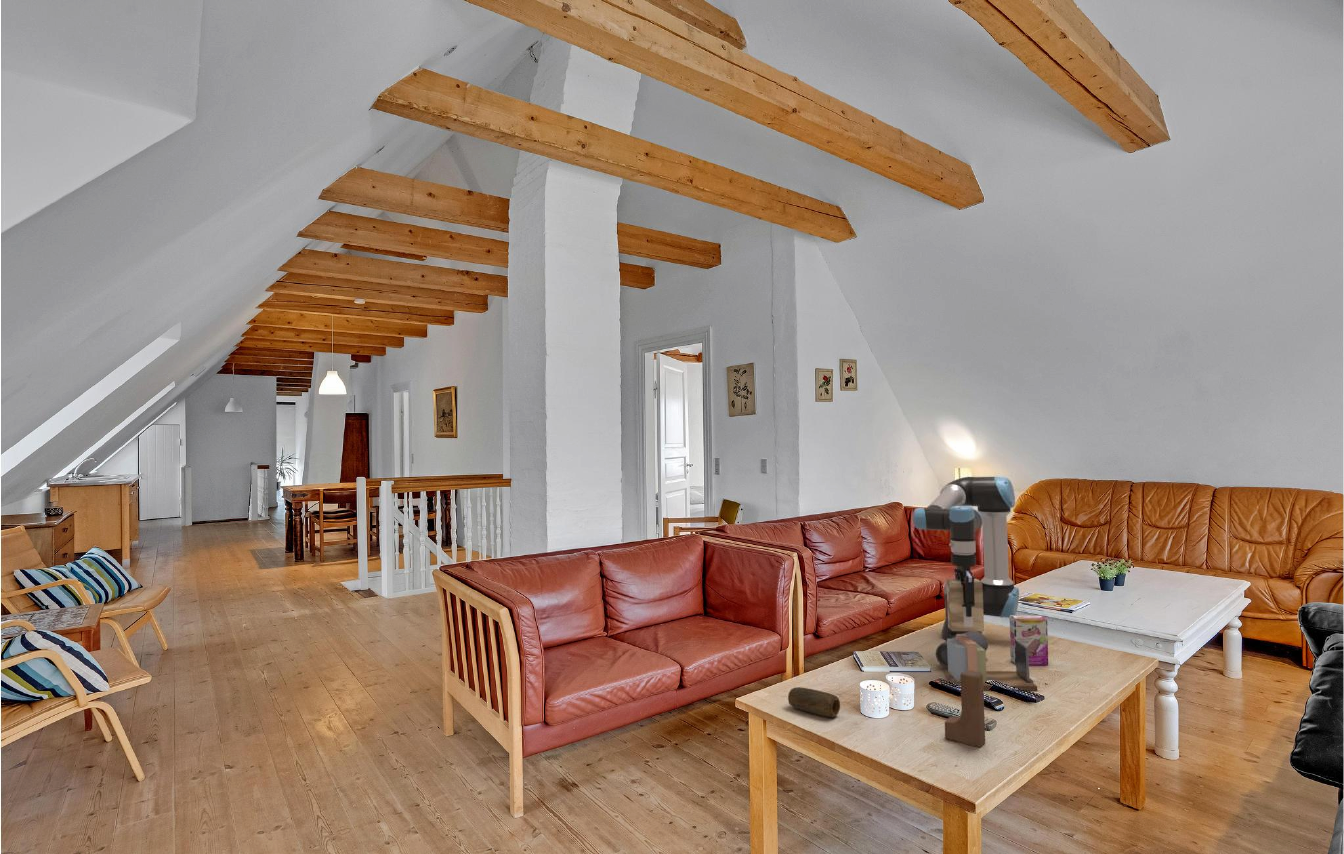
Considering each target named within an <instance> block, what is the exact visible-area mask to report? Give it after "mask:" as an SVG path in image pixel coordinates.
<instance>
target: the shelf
mask: <svg viewBox="0 0 1344 854" xmlns="http://www.w3.org/2000/svg"><path fill="white" fill-rule="evenodd" d="M943 675H944V676H945V678H946V679H947V680H948V681H949V680H950V681H951V682H953V683H954V684H956V685H958V686H961V682H957V681H956V679H955V678H954V677H953V676H952V675H951V674H950V673H949V672H948V670H943ZM986 678H987V680H995V681H997V682H1001V683H1003V684H1007V685H1009V686H1013V687H1015V688H1020V689H1022V690H1027V691H1026V692H1037V691H1038V685H1036V684H1035V683H1027V682H1025V681H1024V680H1023V679H1022V678H1020V677H1019V676H1018V675H1017V674H1016V670H1015V671H1013V670H1011V671H1010V670H986ZM950 681H949V682H950ZM951 682H950V683H951ZM992 686H993V685H990V684H987V683H985V682H983V691H988V690H989V689H990V688H991V687H992Z"/></svg>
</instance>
